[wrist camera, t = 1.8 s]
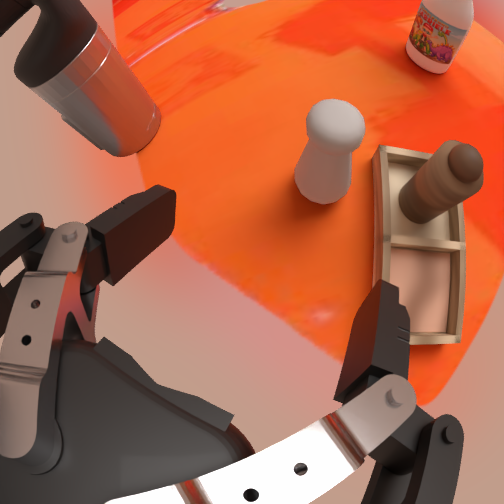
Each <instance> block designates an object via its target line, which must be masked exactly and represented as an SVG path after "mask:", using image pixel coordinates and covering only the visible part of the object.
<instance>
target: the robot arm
mask: <svg viewBox="0 0 504 504" xmlns="http://www.w3.org/2000/svg"><path fill="white" fill-rule="evenodd" d="M34 5H37V6H39V7H40V9H41V14H40V17H39V19H38V22H37V24H36V26H35V28H34V29H33V31H32V33H31V35H30V36H29V38H28V39H27V41H26V42H25V44H24V46H23V47H22V49H21V51H20V52H19V55H18V57H17V59H16V62H15V66H14V73H15V75H16V77H17V78H18V79H19V80H20V81H21V82H23V83H24V84H25V85H26V86H28V87H29V88H30V89H31V90H32V91H33V92H35V93H36V94H37V95H38V96H40V97H41V98H42V99H43V100H45V101H46V102H47V103H48V104H49V105H51V106H52V107H53V108H54V109H56V110H57V111H58V112H59V113H61V114H62V115H61V117H62V119H63V120H64V121H65V122H66V123H67V124H69V125H70V126H71V127H72V128H74V129H75V130H76V131H77V132H79V133H80V134H81V135H82V136H84V137H85V138H86V139H88V140H89V141H90V142H91V143H93V144H94V145H95V146H96V147H98V148H99V149H100V150H106V151H107V152H108V153H110V154H111V155H113V156H117V157H125V156H128V155H132V154H134V153H136V152H138V151H139V150H141V149H142V148H143V147H145V146H146V145H147V144H148V143H149V142H150V141H151V139H152V138H153V137H154V135H155V134H156V132H157V130H158V128H159V125H160V120H161V115H160V111H159V108H158V107H157V106H156V104H155V103H154V101H153V100H152V99H151V97H150V96H149V94H148V93H147V91H146V90H145V89H144V87H143V86H142V84H141V83H140V82H139V80H138V79H137V77H136V76H135V75H134V73H133V72H132V70H131V69H130V68H129V66H128V65H127V63H126V62H125V61H124V59H123V58H122V57H121V55H120V54H119V52H118V51H117V50H116V48H115V47H114V46H113V44H112V43H111V41H110V40H109V39H108V37H107V36H106V35H105V33H104V32H103V30H102V29H101V28H100V26H99V25H98V24H97V22H96V21H95V20H94V18H93V17H92V16H91V14H90V13H89V12H88V11H87V9H86V8H85V7H84V6H83V5H82V3H81V2H80V0H0V37H1V36H2V35H3V34H4V33H5V32H6V31H7V30H8V29H9V28H10V27H11V26H12V25H13V24H14V23H15V22H16V21H17V20H18V19H20V18H21V17H22V16H23V15H24V14H25V13H26V12H27V11H28V10H29V9H30V8H32V7H33V6H34ZM175 209H176V192H175V191H174V190H171V189H169V188H166V187H164V186H161V185H155V186H153V187H151V188H150V189H148V190H146V191H145V192H141V193H137V194H134V195H131V196H129V197H127V198H126V199H124V200H122V201H121V203H118V204H116V205H114V206H113V208H110V209H108V210H106V211H105V212H103V213H102V214H100V215H99V216H97V217H96V218H94V219H93V220H91V221H90V222H88V223H87V224H85V225H84V224H83V223H80V222H69V223H65V224H63V225H61V226H59V227H58V228H56V229H53V228H49V227H45V226H44V222H43V218H42V216H41V215H40V214H38V213H28V214H25V215H23V216H21V217H19V218H18V219H16V220H15V221H14V222H12V223H11V224H9V225H8V226H7V227H5V228H4V229H3V230H1V231H0V275H1V273H2V272H3V270H4V269H5V268H7V267H8V266H9V265H10V264H11V263H12V262H14V261H15V260H16V259H17V258H18V257H19V256H21V258H22V261H23V263H24V266H25V268H24V269H23V270H22V271H21V272H20V273H19V274H18V275H17V276H15V277H14V278H13V279H12V280H11V281H10V282H9V283H8V284H7V285H6V286H5V287H2V286H1V283H0V338H1V336H2V335H3V334H4V333H5V335H4V339H3V343H2V347H1V352H0V504H307V503H309V502H311V501H312V500H314V499H315V498H317V497H318V496H320V495H322V494H323V493H325V492H326V491H327V490H329V489H331V488H332V487H333V486H335V485H336V484H338V483H339V482H340V481H342V480H343V479H345V477H347V476H349V475H350V474H351V473H352V472H354V471H355V470H356V469H358V468H359V467H360V466H361V465H362V464H363V463H364V458H365V457H366V456H367V455H369V456H370V457H371V458H373V459H374V460H376V463H375V466H374V469H373V472H372V475H371V478H370V481H369V484H368V486H367V489H366V492H365V494H364V497H363V500H362V502H361V504H452V503H453V499H454V495H455V490H456V486H457V481H458V476H459V470H460V464H461V457H462V450H463V441H464V433H463V429H462V426H461V424H460V423H459V421H458V420H457V419H456V418H455V417H453V416H452V415H448V414H445V415H442V416H440V417H438V418H436V419H434V418H433V417H431V416H430V415H429V414H427V413H426V412H425V411H423V410H422V409H421V408H420V407H418V406H417V405H416V394H415V391H414V389H413V387H412V385H411V384H410V383H409V382H408V368H409V352H410V344H409V342H410V317H409V314H408V312H407V309H406V306H404V305H401V304H399V287H397V286H395V285H393V284H391V283H389V282H386V281H384V280H382V279H379V280H378V281H377V282H376V284H375V285H374V287H373V288H372V290H371V291H370V293H369V294H368V296H367V297H366V299H365V300H364V302H363V303H362V305H361V306H360V308H359V310H358V311H357V314H356V316H355V318H354V321H353V325H352V329H351V334H350V338H349V342H348V347H347V351H346V355H345V359H344V363H343V367H342V371H341V374H340V378H339V381H338V385H337V389H336V392H335V395H334V399H333V400H335V401H338V402H341V403H343V404H342V407H341V408H339V409H338V410H336V411H335V412H333V413H330V414H328V415H326V416H325V417H323V418H321V419H320V420H318V421H316V422H315V423H313V424H311V425H310V426H308V427H306V428H304V429H303V430H301V431H299V432H298V433H296V434H294V435H293V436H290V437H288V438H286V439H285V440H283V441H281V442H279V443H277V444H275V445H273V446H271V447H269V448H267V449H265V450H263V451H261V452H259V453H257V454H256V453H255V451H254V449H253V447H252V446H251V444H250V442H249V441H248V440H247V438H246V437H245V436H244V435H243V434H242V433H241V432H240V431H239V429H238V428H236V427H235V426H234V425H233V424H231V423H230V422H231V420H232V418H233V416H234V415H233V414H231V413H229V412H227V411H225V410H223V409H221V408H219V407H217V406H215V405H213V404H211V403H209V402H207V401H205V400H203V399H201V398H200V397H197V396H194V395H190V394H187V393H183V392H180V391H176V390H173V389H170V388H167V387H164V386H161V385H159V384H157V383H156V382H154V381H153V380H152V378H150V376H148V374H147V373H146V372H145V371H144V370H143V369H142V368H141V367H140V365H139V364H138V363H137V362H136V361H135V360H134V359H133V358H132V356H131V355H129V354H128V353H126V352H125V351H123V350H122V349H121V348H119V347H118V346H116V345H115V344H113V343H112V342H111V341H109V340H108V339H107V338H105V337H103V338H102V339H101V341H99V343H96V338H95V320H96V312H97V304H98V298H99V291H100V286H99V283H100V282H101V281H102V280H105V281H106V282H108V283H109V284H110V285H112V286H114V285H115V284H116V283H117V282H118V281H120V280H121V279H122V278H123V277H124V276H125V275H126V274H127V273H128V272H130V271H131V270H132V269H133V268H134V267H135V266H136V265H137V264H139V263H140V262H141V261H142V260H143V259H144V258H145V257H147V256H148V255H149V254H150V253H151V252H152V251H154V250H155V249H156V248H157V247H158V246H159V245H161V244H162V243H163V242H164V241H165V240H166V239H168V238H169V236H170V235H171V233H172V231H173V229H174V225H175Z"/></svg>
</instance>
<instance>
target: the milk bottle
mask: <svg viewBox="0 0 504 504" xmlns="http://www.w3.org/2000/svg"><path fill="white" fill-rule="evenodd" d="M473 16H474V13H473V1H472V0H422V2H421V4H420V7H419V10H418V13H417V15H416V18H415V21H414V24H413V27H412V30H411V32H410V35H409V38H408V41H407V44H406V51H407V54H408V55H409V57H410V58H411V59H412V61H414V62H415V63H416V64H417V65H418V66H420V67H421V68H423V69H425V70H427V71H429V72H432V73H437V74H441V73H444V72H446V71H447V70H448V68H449V67H450V65H451V63H452V62H453V60H454V58H455V56H456V55H457V53H458V51H459V49H460V47H461V46H462V44H463V42H464V40H465V38H466V36H467V34H468V32H469V30H470V27H471V25H472V22H473Z"/></svg>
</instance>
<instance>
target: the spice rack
mask: <svg viewBox="0 0 504 504" xmlns="http://www.w3.org/2000/svg"><path fill="white" fill-rule="evenodd" d="M432 155H433V154H429V153H424V152H419V151H413V150H408V149H402V148H396V147H390V146H384V145H379V146H378V148H377V150H376V152H375V154H374V155H373V157H372V164H373V183H374V264H373V283H372V288H373V287H374V285H375V284H376V282H377V281H378V280H379V279H382V280H384V281H386V282H389V283H391V284H393V285H395V286H397V287H399V304H401V305H404V306H406V309H407V312H408V314H409V317H410V342H409V344H410V345H421V344H448V343H460V341H461V334H462V325H463V315H464V302H465V281H466V246H465V225H464V212H463V202H461V203H459V204H458V205H456V206H454V207H453V208H451V209H449V210H448V211H446V212H444V213H443V214H441V215H439V216H437V217H436V218H434V219H432V220H431V221H429V222H427V223H424V224H417V223H414V222H412V221H410V220H409V219H408V218H407V217H406V216H405V215H404V214H403V212H402V211H401V208H400V206H399V193H400V190H401V189H402V187H403V186H404V185H405V184H406V183H407V182H408V181H409V180H410V179H411V178H412V177H413V176H414V175H415V174H416V172H417V171H418V170H419V169H420V168H421V167H422V166H423V165H424V164H425V163H426V162H427V161H428V160H429V158H430V157H431V156H432Z"/></svg>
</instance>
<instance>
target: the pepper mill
mask: <svg viewBox="0 0 504 504" xmlns="http://www.w3.org/2000/svg"><path fill="white" fill-rule="evenodd" d="M482 185H483V160H482V157H481V155H480V153H479V152H478V150H477V149H476V148H474V147H473V146H471V145H469V144H465V143H461V142H459V141H455V140H449V141H446V142H444V143H443V144H442V145H441V146H440V147H439V149H438V150H437V151H436V152H435V153H434V154H433V155H432V156H431V157H430V158H429V160H428V161H427V162H426V163H425V164H424V165H423V166H422V167H421V168H420V169H419V170H418V171H417V172H416V174H415V175H414V176H413V177H412V178H411V179H410V180H409V181H408V182H407V183H406V184H405V185H404V186H403V187H402V189H401V190H400V193H399V206H400V208H401V211H402V212H403V214H404V215H405V216H406V217H407V218H408V219H409V220H410V221H412V222H414V223H417V224H424V223H427V222H429V221H431V220H432V219H434V218H436V217H437V216H439V215H441V214H443V213H444V212H446V211H448V210H449V209H451V208H453V207H454V206H456V205H458V204H459V203H461V202H462V201H464V200H466V199H467V198H469V197H471V196H472V195H474V194H475V193H477V192H478V191H479V190H480V189H481V187H482Z"/></svg>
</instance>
